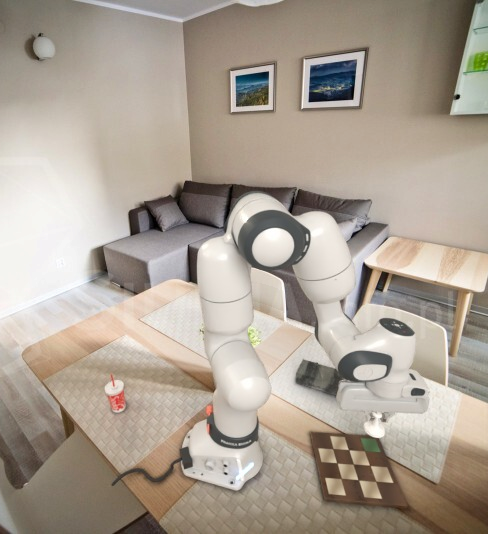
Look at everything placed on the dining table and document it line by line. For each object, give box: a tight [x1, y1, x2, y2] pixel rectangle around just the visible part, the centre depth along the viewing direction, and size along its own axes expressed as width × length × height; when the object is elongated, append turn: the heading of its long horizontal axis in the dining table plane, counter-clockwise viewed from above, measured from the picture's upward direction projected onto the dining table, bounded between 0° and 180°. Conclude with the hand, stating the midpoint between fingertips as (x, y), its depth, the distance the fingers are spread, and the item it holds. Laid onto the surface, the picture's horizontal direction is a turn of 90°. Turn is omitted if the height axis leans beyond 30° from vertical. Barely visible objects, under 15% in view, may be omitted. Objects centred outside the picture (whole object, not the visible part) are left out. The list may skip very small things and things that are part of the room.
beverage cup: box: [104, 374, 127, 414], centre depth 106 cm, size 6×6×14 cm
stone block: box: [295, 358, 344, 397], centre depth 111 cm, size 9×14×5 cm, turn 57°
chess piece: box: [363, 412, 386, 439], centre depth 84 cm, size 5×5×10 cm
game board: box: [309, 431, 408, 510], centre depth 84 cm, size 18×18×1 cm
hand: (376, 420), depth 84 cm, fingers closed on chess piece
